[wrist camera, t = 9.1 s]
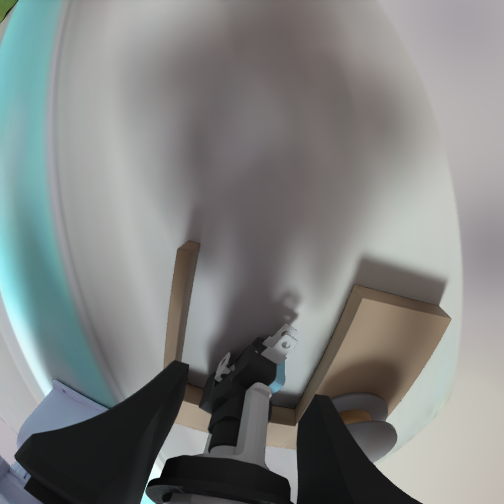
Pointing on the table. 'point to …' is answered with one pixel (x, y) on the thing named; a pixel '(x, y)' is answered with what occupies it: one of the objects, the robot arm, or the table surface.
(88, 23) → the table surface
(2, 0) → the plant pot
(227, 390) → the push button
